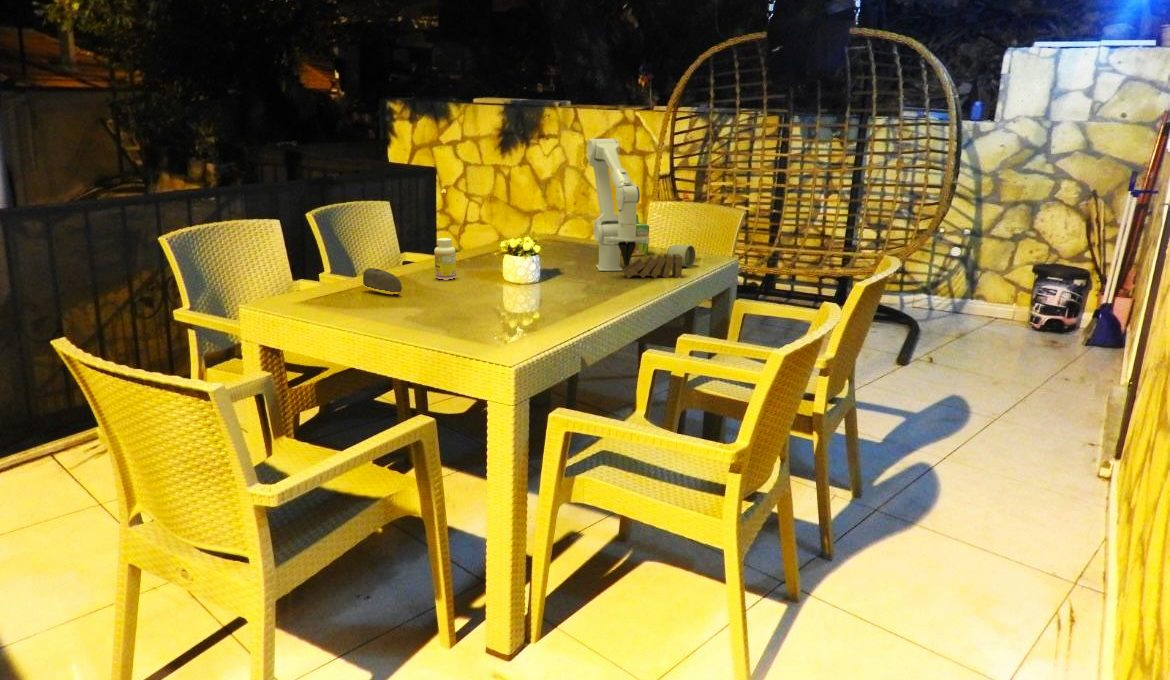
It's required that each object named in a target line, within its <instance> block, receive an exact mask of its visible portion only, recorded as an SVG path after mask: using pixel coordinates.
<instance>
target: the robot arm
mask: <svg viewBox="0 0 1170 680" xmlns="http://www.w3.org/2000/svg"><path fill="white" fill-rule="evenodd" d="M620 147H621V145H620V142H619V139H617V138H616V137H614V138H613V137H612V138H593V137H591V138H590V139H589V140H588V142H587V147H586V154H587V159H588V164H589V165H588V166H590V167H592V168H593V172H594V178H595V179H594V181H595V185H596V186H595V187H596V193H597V199H598V207H599V212H600V213H599V214H600V215H599V216H598V217H597V218H596V219H595V221H593V236H594V240H595V241H596V243H598V264H595V268H597V270H598V271H599V272H600V271H601V272H610V271H611V272H613V271H614V272H616V271H619V272H620V271H622V272H623V270H624V269H623V268H622V267H621V265H620V264H621V256H622V260H623V266H625V267H628V266H629V265H630V262H631V258H632V257H633V256H632V253H633V251H634V249H635V247H636V244H635V243H649V244H650V239H651V238H650V236H649V237H644V236H636V214H637V204H638V203H639V202H640V198H641V192H640V188H639V185H636V183H633V182H632V179H631V177H630V175H629V172H628V171H627V169H625V168H623V166H622V162H621V160H620V156H619V154H620V150H621V149H620ZM609 169H610V170H609ZM610 171H611V174H610ZM611 181H612V184H613V187H614V190H615V200H616V209H617V210H618V214H617V213H616V211H615V205H614V198H613V191H612V185H611ZM620 251H621V253H622V254H620Z"/></svg>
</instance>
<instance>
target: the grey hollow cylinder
mask: <svg viewBox="0 0 1170 680" xmlns="http://www.w3.org/2000/svg"><path fill="white" fill-rule="evenodd" d="M666 254H670V255H671V256H673V254H679V255H681V256H682V268H692V267H693V266H694V264H695V262H696V250H695V247H694V246H693V245H692V244H691V245H690V244H673V245H670V246H669V247H668V249H667V251H666ZM672 265H673V261H672ZM671 268H672V266H671Z"/></svg>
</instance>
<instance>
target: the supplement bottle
mask: <svg viewBox="0 0 1170 680" xmlns="http://www.w3.org/2000/svg"><path fill="white" fill-rule="evenodd" d="M436 243H437V246H436V247H435V248H434V251H433V252H434V274H435V279H436V278H440V279H453V278H455V279H456V278H457V260H456V259H457V258H456V256H457V255H456V248H455V246H452V245H453V244H452V243H453V239H452V238H450V237H440V238H437V240H436ZM453 280H454V279H453Z"/></svg>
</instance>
